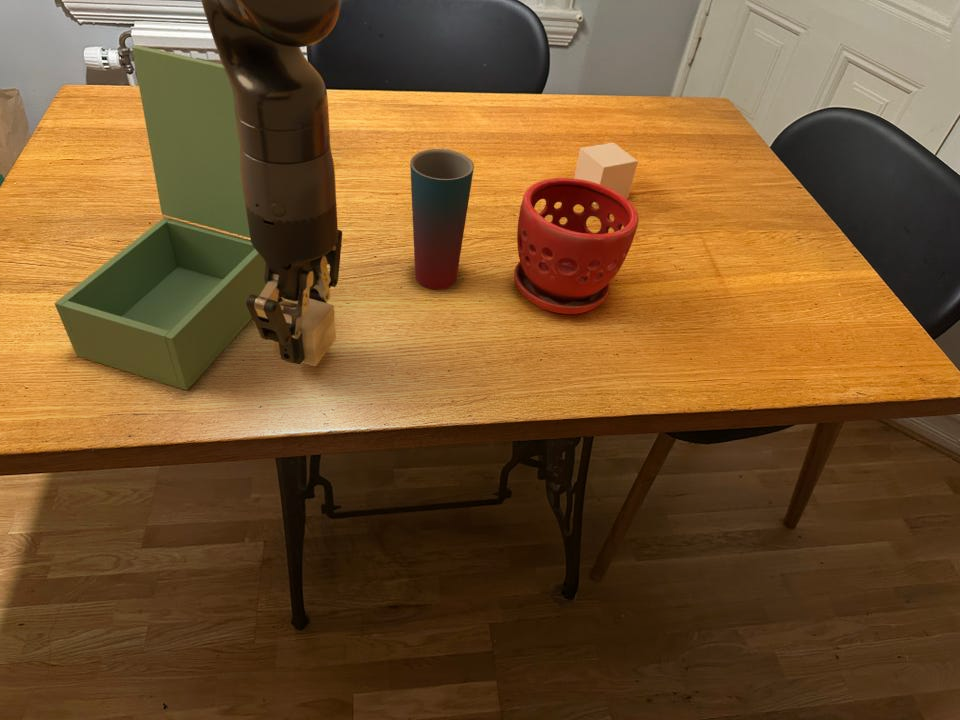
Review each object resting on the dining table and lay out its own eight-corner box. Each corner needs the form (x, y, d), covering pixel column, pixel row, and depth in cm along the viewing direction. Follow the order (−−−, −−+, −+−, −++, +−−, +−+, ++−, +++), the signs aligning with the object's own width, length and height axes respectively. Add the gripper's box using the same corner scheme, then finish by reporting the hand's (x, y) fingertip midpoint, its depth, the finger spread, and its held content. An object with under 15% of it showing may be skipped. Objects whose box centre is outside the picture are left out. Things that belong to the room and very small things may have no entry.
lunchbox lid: (251, 73, 64) (279, 61, 67) (131, 46, 66) (165, 36, 69) (264, 242, 74) (288, 223, 78) (161, 214, 76) (189, 197, 80)
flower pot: (588, 339, 79) (612, 251, 70) (489, 295, 83) (500, 207, 75) (632, 284, 87) (657, 199, 79) (540, 246, 91) (555, 162, 83)
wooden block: (315, 366, 68) (312, 332, 65) (274, 354, 69) (269, 319, 66) (336, 339, 72) (334, 304, 69) (296, 327, 72) (292, 293, 69)
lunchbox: (187, 390, 68) (172, 338, 63) (76, 356, 70) (53, 303, 65) (274, 294, 79) (267, 244, 75) (177, 267, 81) (164, 216, 77)
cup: (415, 297, 81) (419, 182, 71) (401, 264, 86) (403, 151, 76) (470, 290, 83) (482, 177, 73) (454, 257, 88) (463, 146, 78)
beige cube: (604, 179, 107) (613, 142, 102) (628, 198, 103) (638, 160, 99) (572, 185, 104) (580, 147, 100) (594, 205, 100) (604, 167, 96)
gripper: (292, 149, 64) (305, 295, 76) (201, 224, 54) (233, 380, 66) (367, 167, 63) (369, 313, 75) (288, 247, 53) (305, 402, 64)
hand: (305, 344), depth 70 cm, fingers closed on wooden block, 4 cm apart
